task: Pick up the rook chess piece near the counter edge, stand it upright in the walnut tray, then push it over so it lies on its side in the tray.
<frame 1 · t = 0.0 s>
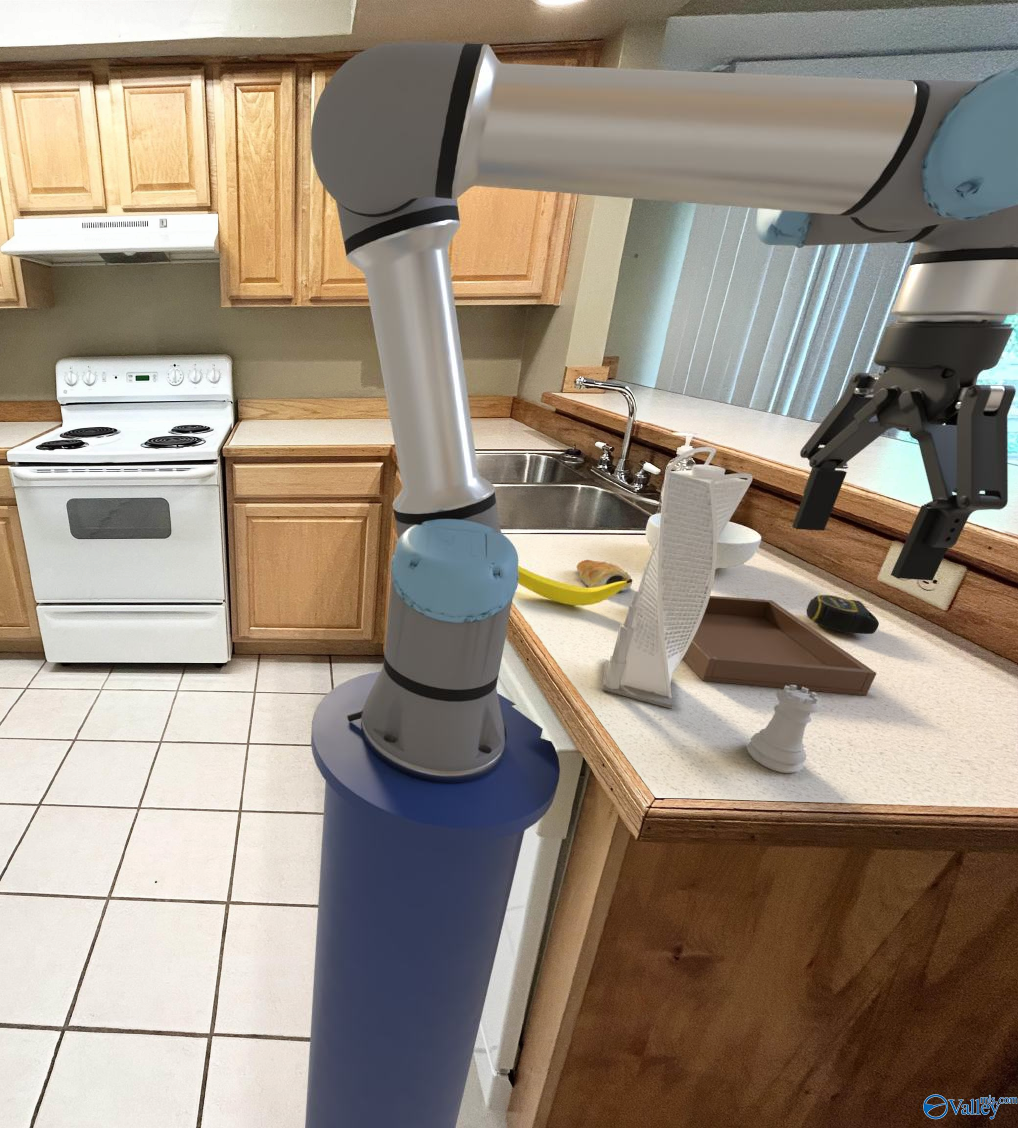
hand: (853, 551, 59), 19 cm above the counter, tool pointing down, fingers open, 13 cm apart
pastry: (599, 584, 99), on the counter
tray: (736, 646, 79), on the counter
cereal bowl: (691, 563, 107), on the counter
rook chess piece: (772, 761, 59), on the counter
skyscraper: (641, 684, 71), on the counter
tape measure: (838, 628, 85), on the counter
banana: (553, 602, 92), on the counter
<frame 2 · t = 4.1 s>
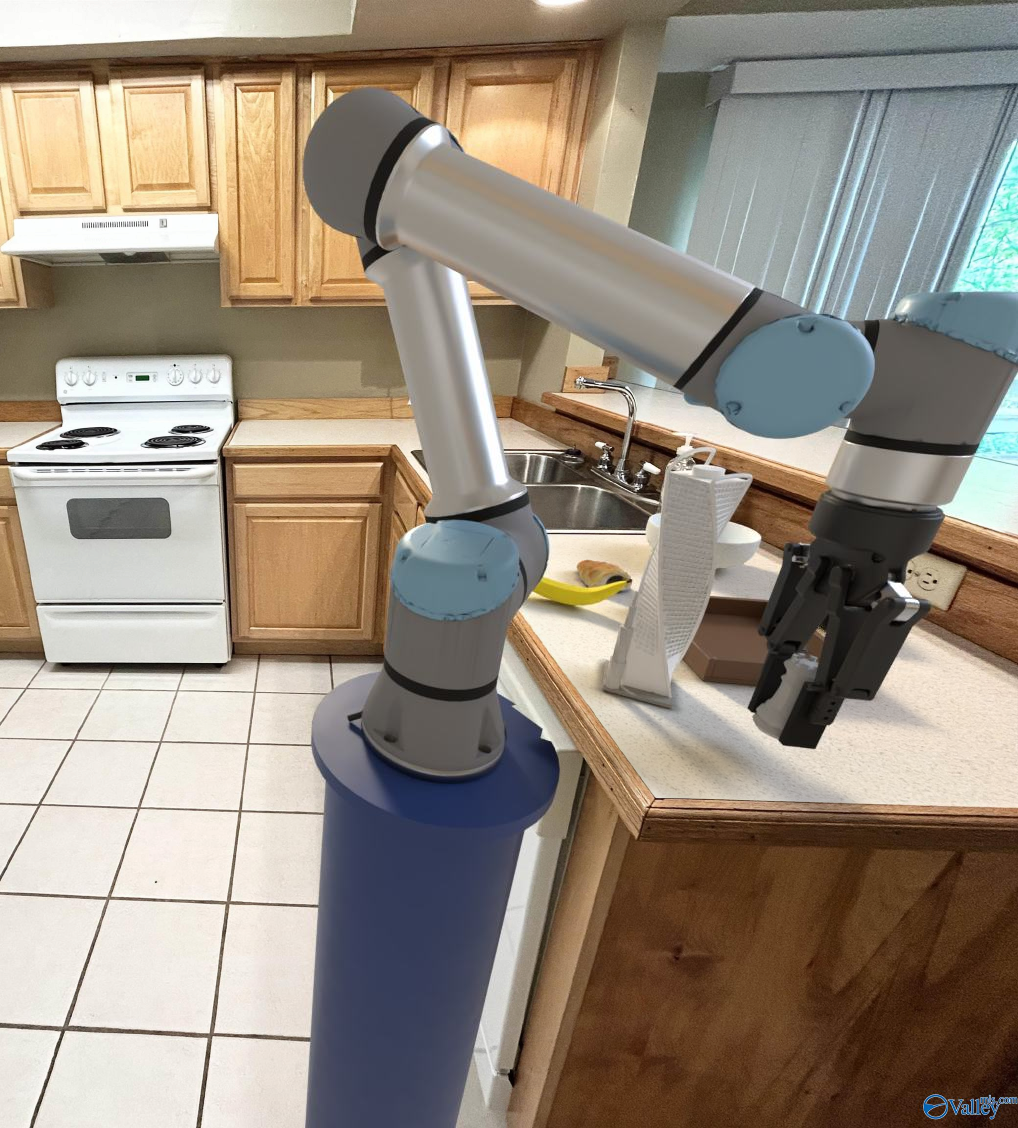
hand: (779, 727, 58), 4 cm above the counter, tool pointing down, fingers closed on rook chess piece, 4 cm apart
rook chess piece: (778, 731, 58), point 3 cm above the counter, touching gripper
everything else where it was.
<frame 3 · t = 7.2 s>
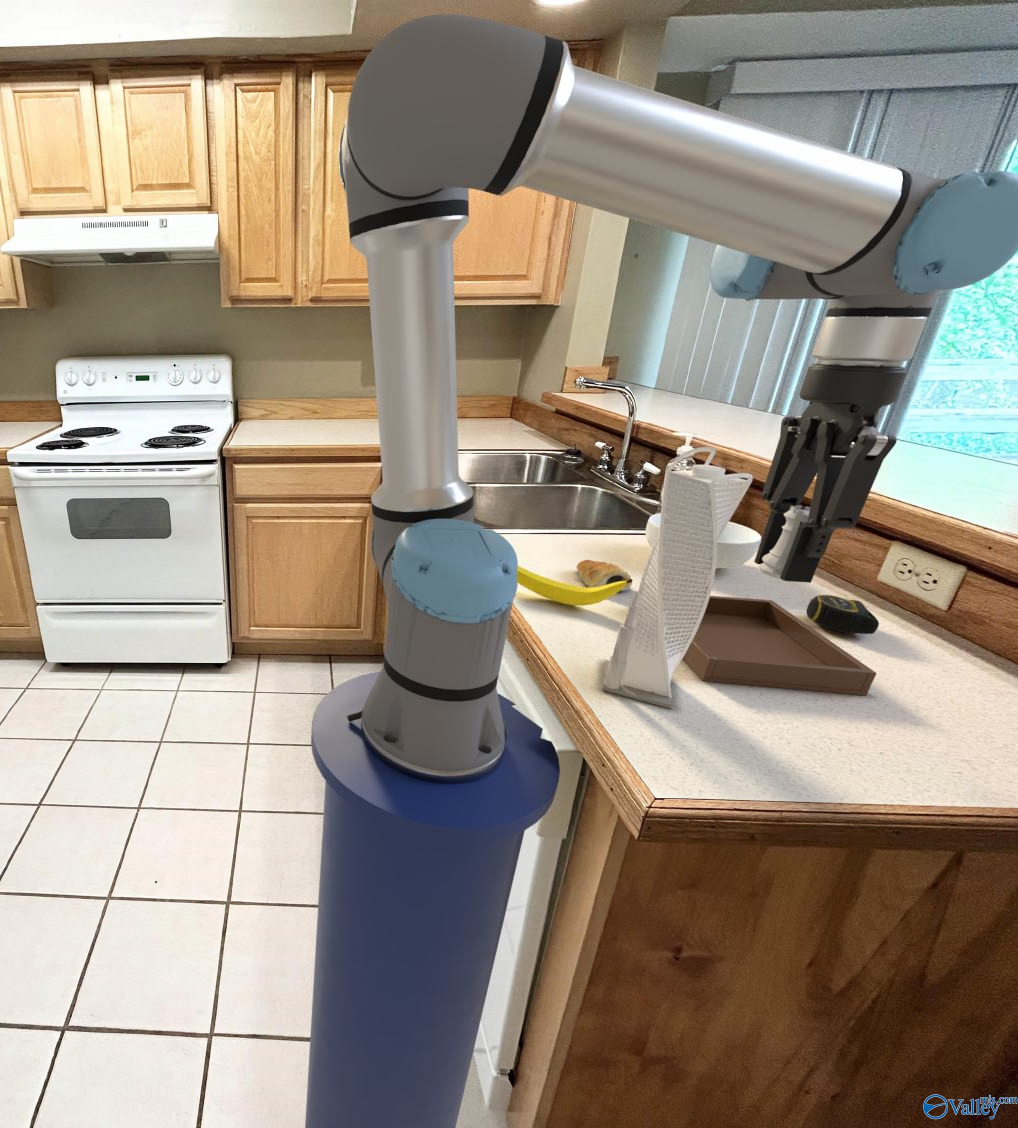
hand: (781, 571, 69), 13 cm above the counter, tool pointing down, fingers closed on rook chess piece, 4 cm apart
rook chess piece: (780, 575, 70), point 13 cm above the counter, touching gripper
everything else where it was.
when the fingers open (1 cm above the counter, at t = 10.2 s): rook chess piece stays where it is, resting on tray.
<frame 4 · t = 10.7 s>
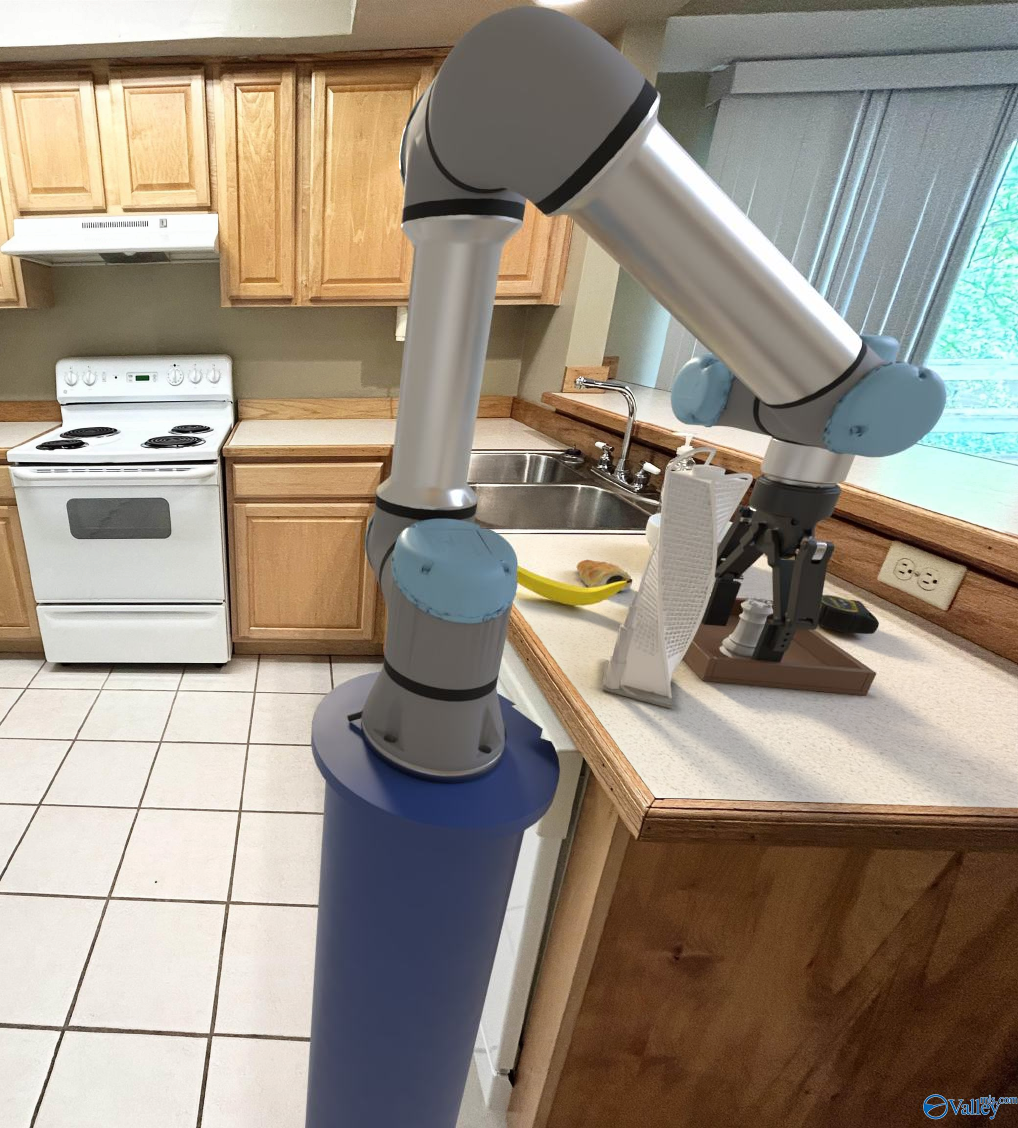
hand: (736, 645, 76), 2 cm above the counter, tool pointing down, fingers open, 10 cm apart
rook chess piece: (738, 658, 76), resting on tray
everything else where it was.
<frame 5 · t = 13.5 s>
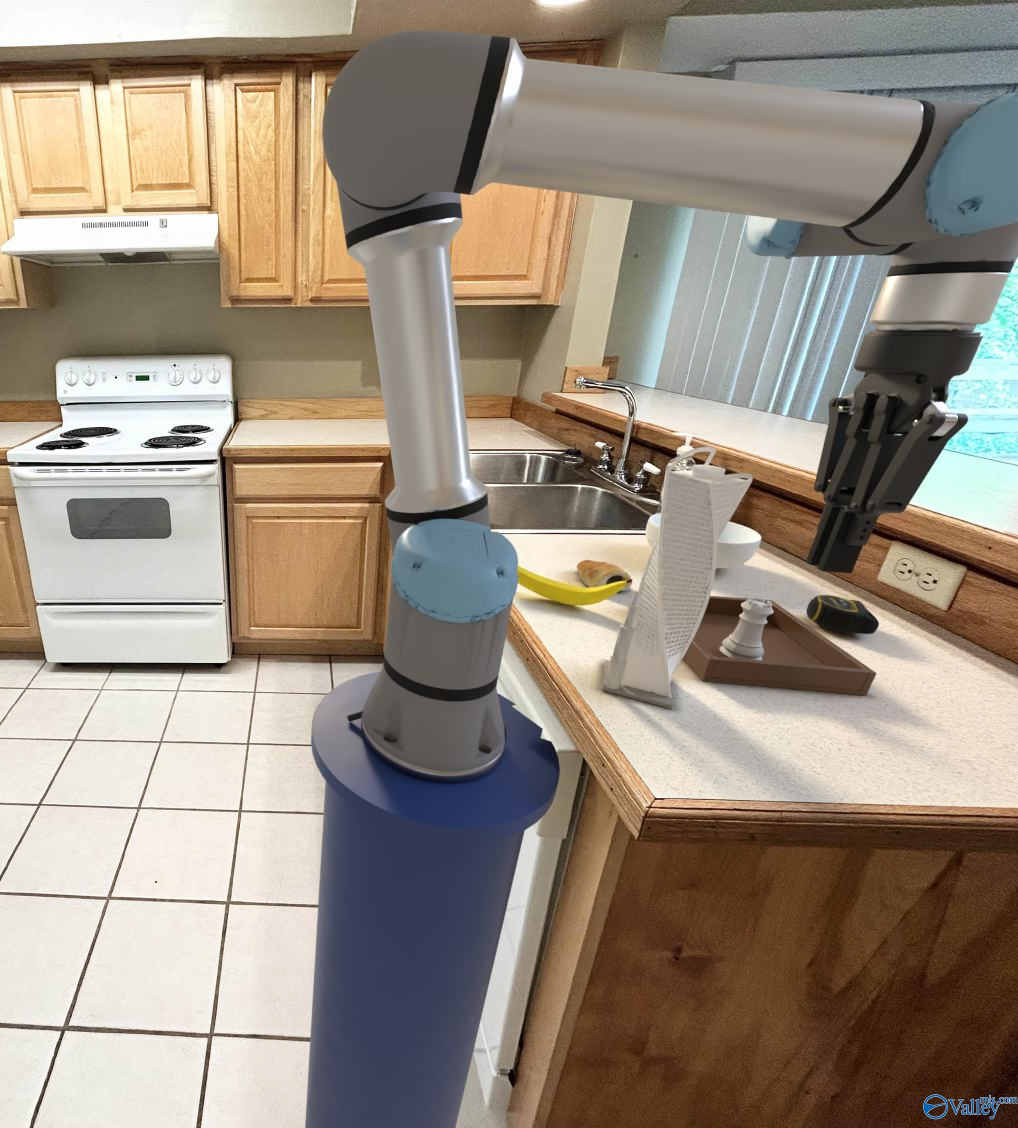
hand: (828, 567, 63), 16 cm above the counter, tool pointing down, fingers closed
nothing on the counter moved.
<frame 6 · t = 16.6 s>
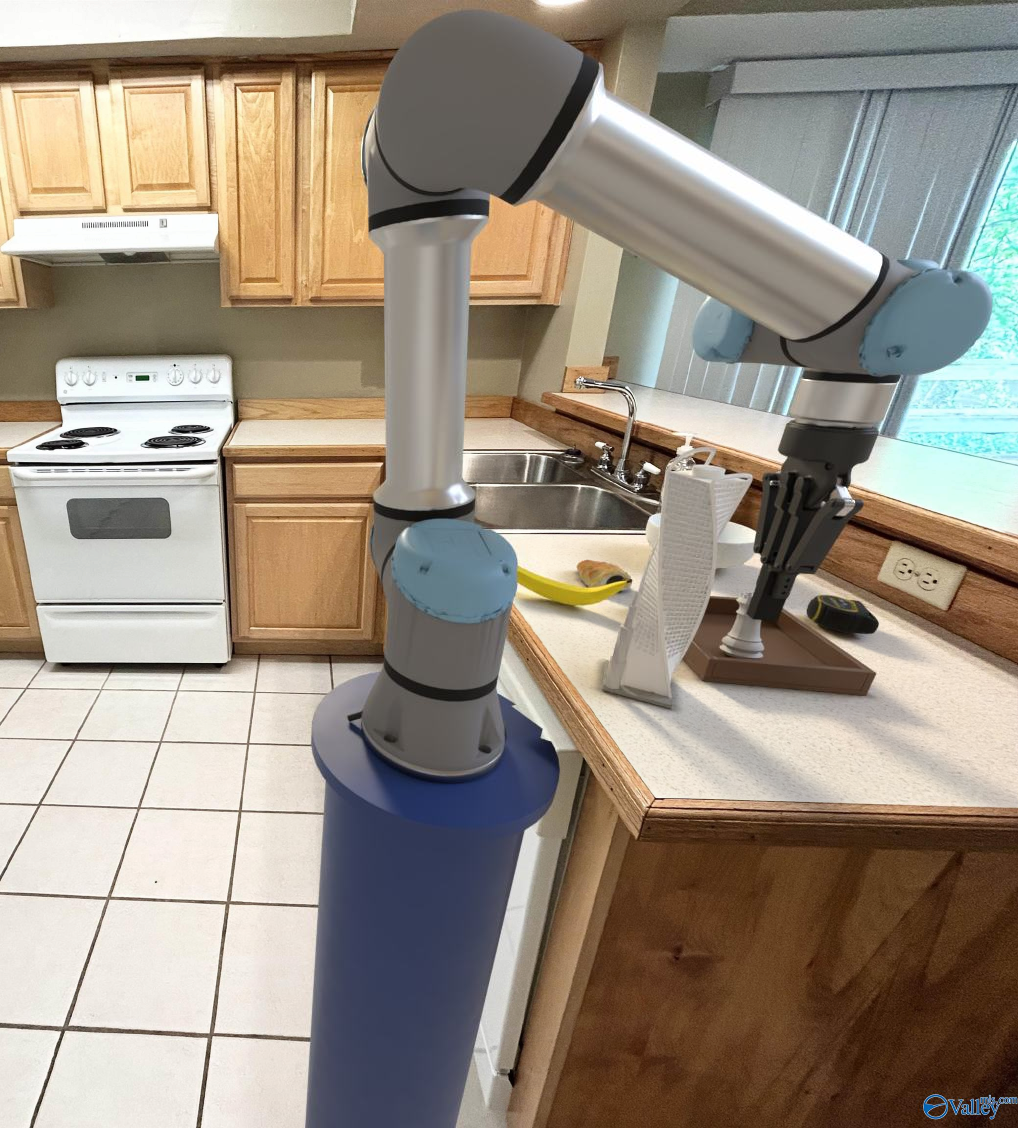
hand: (761, 617, 72), 7 cm above the counter, tool pointing down, fingers closed
rook chess piece: (739, 656, 76), point 1 cm above the counter, touching gripper, tray
everything else where it was.
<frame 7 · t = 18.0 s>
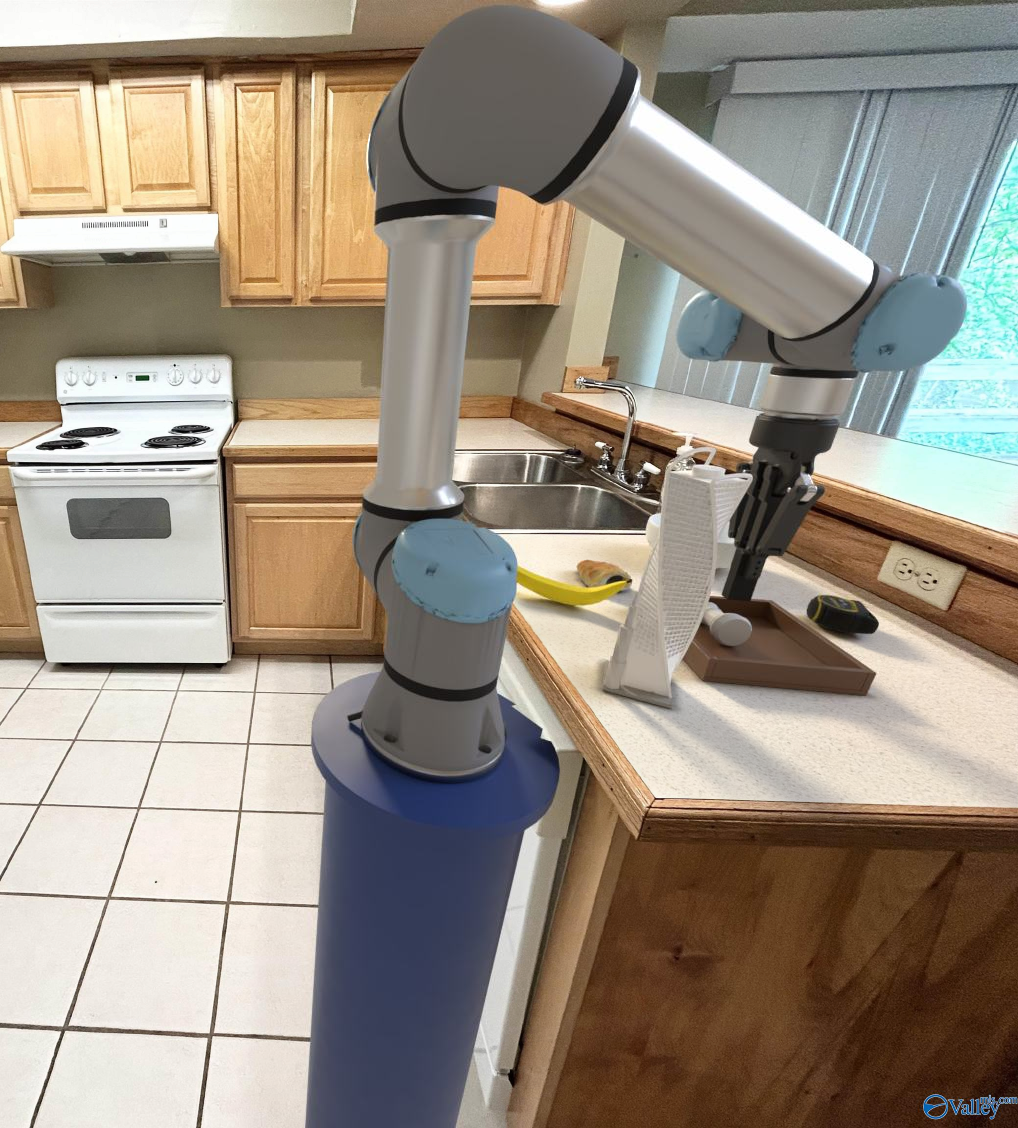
hand: (735, 597, 77), 7 cm above the counter, tool pointing down, fingers closed
rook chess piece: (735, 633, 77), point 3 cm above the counter, touching tray
everything else where it was.
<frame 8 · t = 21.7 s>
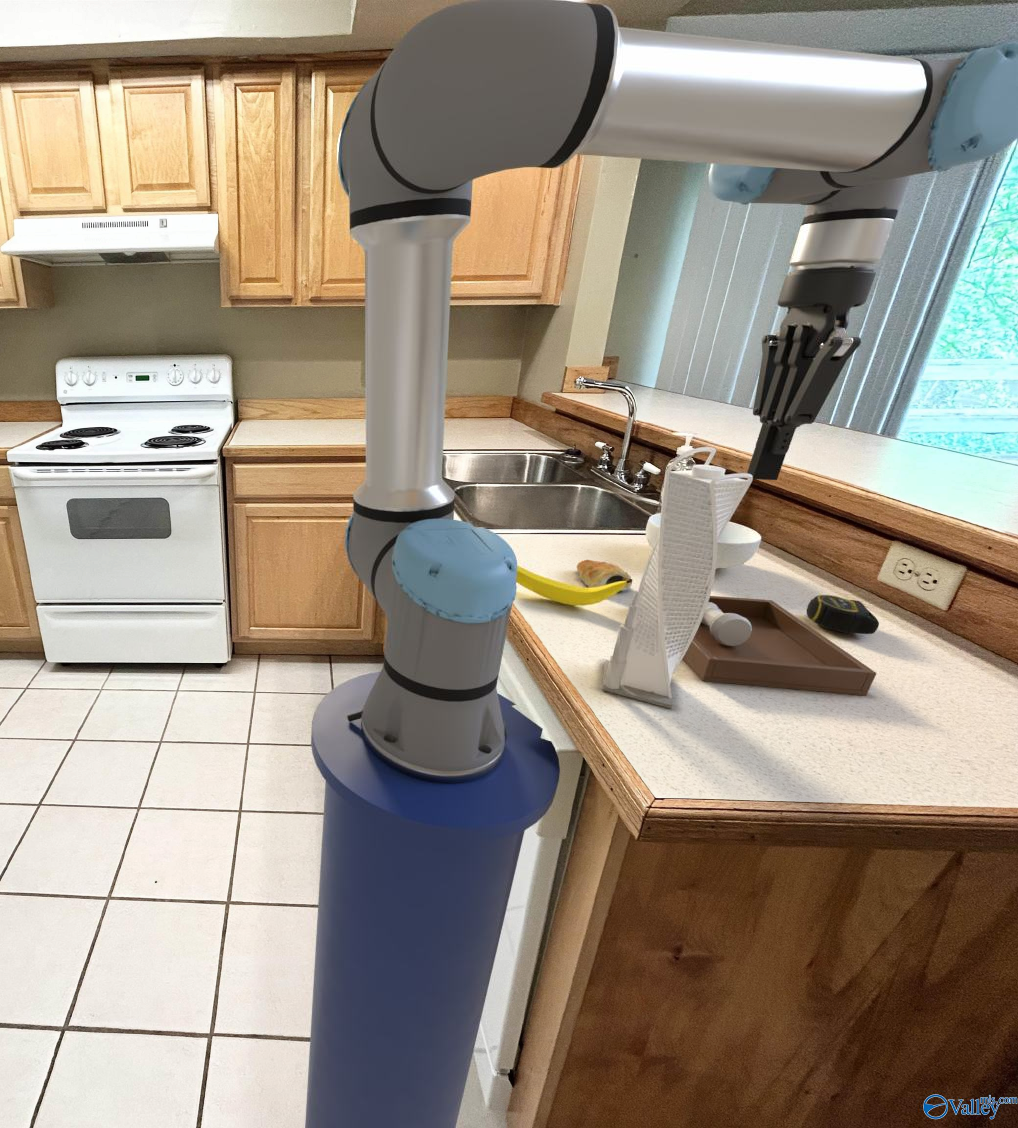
hand: (761, 478, 74), 22 cm above the counter, tool pointing down, fingers closed
nothing on the counter moved.
at the end: rook chess piece tilted 95°; rook chess piece inside the target area in the tray (2.5 cm from its centre), point 2.9 cm above the tray's base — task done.
